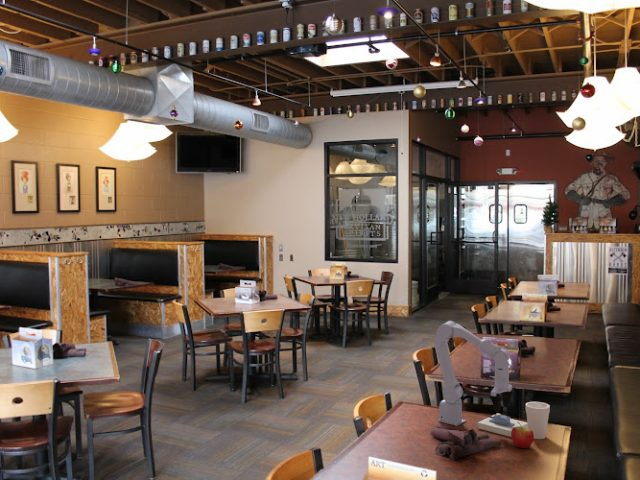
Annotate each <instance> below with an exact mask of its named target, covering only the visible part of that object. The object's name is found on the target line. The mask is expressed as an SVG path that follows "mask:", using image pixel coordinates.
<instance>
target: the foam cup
mask: <svg viewBox="0 0 640 480" xmlns="http://www.w3.org/2000/svg"><path fill="white" fill-rule="evenodd" d="M550 406H551V405H550V404H548V403H546V402H541V401H529V402H526V403H525V413H526V418H527V419H526V420H527V423H528V429H530V430H532V431H533V434H534V439H533V440H544V439H545V438H546V436H547V431H548V423H549V422H548V421H549V415H550V412H551V411H550Z"/></svg>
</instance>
